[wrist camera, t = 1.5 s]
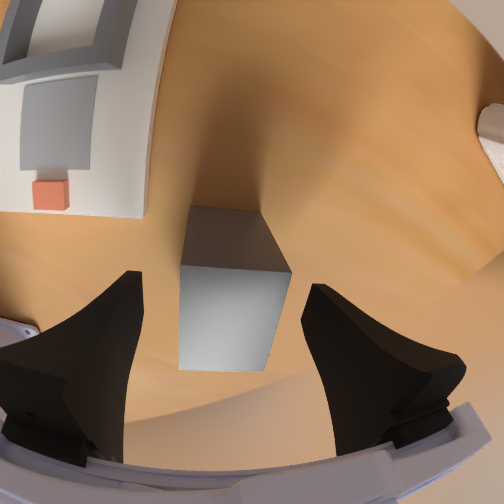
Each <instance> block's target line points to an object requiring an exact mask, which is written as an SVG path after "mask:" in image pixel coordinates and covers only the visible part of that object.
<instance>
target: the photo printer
mask: <svg viewBox="0 0 504 504" xmlns="http://www.w3.org/2000/svg"><path fill="white" fill-rule="evenodd" d="M477 131H478V134H479V136H478V137H479V140H480V143H481V145H482V147H483V149H484V151H485V153H486V154H487V156H488V157H489V159H490V161H491V163H492V164H493V166H494V168H495V170H496V172H497V173H498V175H499V177H500V179H501V180H502V182H503V184H504V105H502V104H496V103H492V104H490V106H487V107H485V108H484V109H483V110H482V112H481V114H480V116H479V120H478V127H477Z"/></svg>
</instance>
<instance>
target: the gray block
mask: <svg viewBox="0 0 504 504" xmlns="http://www.w3.org/2000/svg"><path fill="white" fill-rule="evenodd" d="M291 275H292V272H291V270H290V268H289V266H288V264H287V262H286V260H285V258H284V256H283V254H282V252H281V250H280V248H279V247H278V245H277V243H276V241H275V239H274V237H273V235H272V233H271V231H270V229H269V228H268V226H267V224H266V222H265V220H264V218H263V216H262V214H261V213H258V212H249V211H240V210H230V209H220V208H210V207H199V206H190V211H189V216H188V222H187V228H186V234H185V241H184V247H183V254H182V261H181V273H180V300H179V369H181V370H199V371H237V372H248V371H264V369H265V366H266V363H267V359H268V356H269V353H270V350H271V346H272V343H273V339H274V336H275V333H276V329H277V326H278V322H279V319H280V315H281V312H282V308H283V305H284V301H285V298H286V294H287V290H288V287H289V283H290V279H291Z"/></svg>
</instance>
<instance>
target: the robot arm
mask: <svg viewBox="0 0 504 504" xmlns="http://www.w3.org/2000/svg"><path fill="white" fill-rule="evenodd" d="M143 315H144V304H143V287H142V272H140V271H129V270H128V271H126V272H125V273H124V274H123V275H122V276H121V277H120V278H118V279H117V280H116V281H115V282H114V283H113V284H112V285H111V286H110V287H109V288H107V289H106V290H105V291H104V292H103V293H102V294H101V295H99V296H98V297H97V298H96V299H94V300H93V301H92V302H91V303H89V304H88V305H87V306H86V307H84V308H83V309H82V310H80V311H79V312H77V313H76V314H74V315H73V316H71V317H70V318H68V319H67V320H65V321H63V322H61V323H59V324H58V325H56V326H54V327H52V328H50V329H48V330H46V331H44V332H42V333H39V331H38V329H37V328H36V327H35V326H32V325H28V324H24V323H19V322H15V321H11V320H8V319H4V318H0V504H398V503H397V501H399V500H401V499H403V498H405V497H407V496H409V495H411V494H413V493H415V492H417V491H419V490H421V489H423V488H424V487H426V486H428V485H430V484H431V483H433V482H435V481H436V480H438V479H440V478H441V477H443V476H445V475H446V474H448V473H449V472H451V471H453V470H454V469H456V468H457V467H458V466H460V465H461V464H463V463H464V462H465V461H466V460H468V459H469V458H471V457H472V456H473V455H474V454H476V453H477V452H478V451H479V450H480V449H482V448H483V447H484V446H485V445H486V444H488V443H489V442H490V441H491V440H492V438H491V436H490V435H489V433H488V431H487V429H486V428H485V426H484V425H483V423H482V421H481V420H480V418H479V417H478V415H477V413H476V412H475V410H474V409H473V407H472V406H471V404H470V403H469V402H466V403H464V404H462V405H460V406H458V407H456V408H454V409H453V410H452V411H450V412H449V411H448V410H447V408H446V407H448V406H449V404H450V403H449V401H448V400H447V397H448V395H450V393H451V392H452V391H453V390H454V389H455V388H456V386H457V385H458V384H459V383H460V381H461V380H462V379H463V377H464V375H465V372H466V365H465V364H464V362H463V361H462V360H461V359H460V357H459V356H458V355H456V354H453V353H449V352H445V351H441V350H437V349H434V348H431V347H428V346H426V345H423V344H420V343H418V342H415V341H413V340H411V339H409V338H407V337H404V336H402V335H400V334H398V333H396V332H394V331H393V330H391V329H389V328H388V327H386V326H384V325H382V324H381V323H379V322H378V321H376V320H375V319H373V318H372V317H370V316H369V315H367V314H366V313H364V312H363V311H362V310H360V309H359V308H358V307H356V306H355V305H353V304H352V303H351V302H350V301H348V300H347V299H346V298H344V297H343V296H342V295H340V294H339V293H338V292H336V291H335V290H333V289H332V288H331V287H329V286H327V285H326V284H313V283H312V286H311V290H310V293H309V296H308V299H307V302H306V305H305V308H304V311H303V314H302V317H301V324H302V328H303V332H304V336H305V340H306V342H307V345H308V347H309V350H310V352H311V355H312V357H313V360H314V362H315V365H316V367H317V369H318V372H319V374H320V377H321V380H322V383H323V386H324V389H325V393H326V397H327V401H328V405H329V410H330V414H331V419H332V425H333V431H334V437H335V445H336V455H337V457H334V458H329V459H325V460H319V461H315V462H309V463H303V464H297V465H290V466H283V467H275V468H265V469H254V470H237V471H186V470H170V469H158V468H149V467H141V466H134V465H128V464H123V430H124V413H125V401H126V392H127V384H128V379H129V374H130V370H131V366H132V362H133V358H134V355H135V351H136V347H137V344H138V340H139V337H140V333H141V327H142V321H143Z"/></svg>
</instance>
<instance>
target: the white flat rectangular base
mask: <svg viewBox="0 0 504 504" xmlns="http://www.w3.org/2000/svg"><path fill="white" fill-rule="evenodd" d="M177 2H178V0H11V1H10V4H9V7H8V9H7V12H6V15H5V18H4V21H3V24H2V28H1V31H0V211H6V212H32V213H53V214H72V215H90V216H106V217H121V218H135V219H143V218H144V217H145V215H146V213H147V200H148V181H149V167H150V155H151V144H152V135H153V126H154V118H155V110H156V103H157V96H158V90H159V84H160V78H161V72H162V67H163V62H164V57H165V52H166V47H167V42H168V38H169V34H170V29H171V25H172V21H173V17H174V13H175V10H176V6H177Z"/></svg>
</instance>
